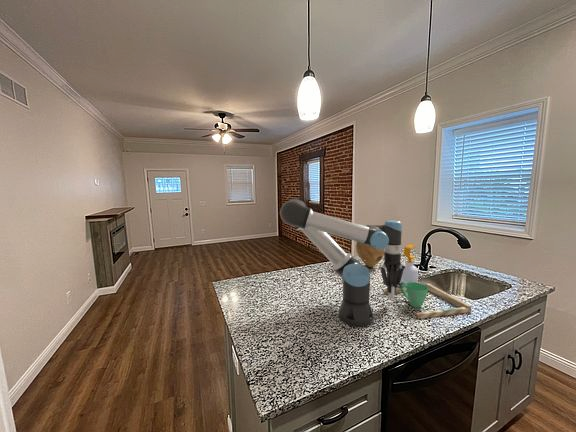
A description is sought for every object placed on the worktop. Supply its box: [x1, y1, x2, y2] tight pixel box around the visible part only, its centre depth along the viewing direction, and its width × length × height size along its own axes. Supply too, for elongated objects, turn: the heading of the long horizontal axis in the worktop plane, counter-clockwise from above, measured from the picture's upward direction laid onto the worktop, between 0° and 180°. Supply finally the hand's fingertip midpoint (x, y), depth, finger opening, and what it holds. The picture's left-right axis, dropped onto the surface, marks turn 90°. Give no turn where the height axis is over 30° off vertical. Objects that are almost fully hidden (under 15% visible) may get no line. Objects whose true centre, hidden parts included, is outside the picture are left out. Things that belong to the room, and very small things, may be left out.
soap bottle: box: [400, 243, 419, 288], centre depth 145 cm, size 9×9×25 cm
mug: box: [399, 281, 429, 309], centre depth 124 cm, size 15×10×10 cm
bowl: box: [355, 241, 385, 268], centre depth 179 cm, size 21×20×20 cm
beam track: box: [383, 283, 472, 319], centre depth 126 cm, size 28×27×3 cm
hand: (391, 298), depth 122 cm, fingers closed
